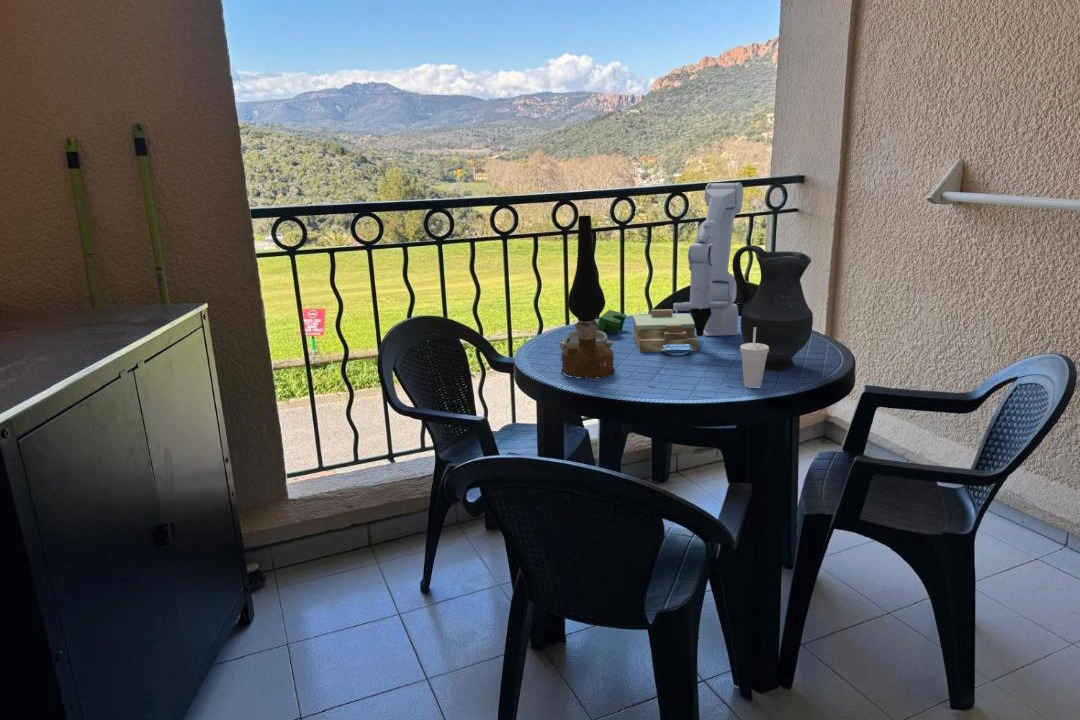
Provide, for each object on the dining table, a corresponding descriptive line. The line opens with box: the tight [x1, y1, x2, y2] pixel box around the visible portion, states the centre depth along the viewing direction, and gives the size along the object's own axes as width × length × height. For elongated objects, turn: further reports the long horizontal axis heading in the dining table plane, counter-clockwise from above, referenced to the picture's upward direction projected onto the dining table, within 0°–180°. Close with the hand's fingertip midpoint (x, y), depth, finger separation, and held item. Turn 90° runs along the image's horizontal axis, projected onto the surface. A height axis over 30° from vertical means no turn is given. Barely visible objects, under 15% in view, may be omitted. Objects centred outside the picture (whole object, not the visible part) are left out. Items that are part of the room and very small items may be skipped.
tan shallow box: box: [633, 322, 699, 353], centre depth 195 cm, size 16×17×5 cm
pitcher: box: [731, 244, 814, 371], centre depth 169 cm, size 17×21×30 cm
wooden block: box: [664, 331, 687, 339], centre depth 188 cm, size 6×2×1 cm, turn 88°
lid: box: [632, 308, 696, 332], centre depth 196 cm, size 17×14×5 cm
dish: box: [559, 329, 613, 353], centre depth 190 cm, size 14×14×5 cm
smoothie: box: [739, 327, 769, 387], centre depth 156 cm, size 6×6×14 cm
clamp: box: [597, 309, 627, 336], centre depth 210 cm, size 12×6×9 cm, turn 153°
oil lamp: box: [560, 215, 615, 378], centre depth 170 cm, size 14×15×40 cm
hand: (699, 335), depth 188 cm, fingers closed
